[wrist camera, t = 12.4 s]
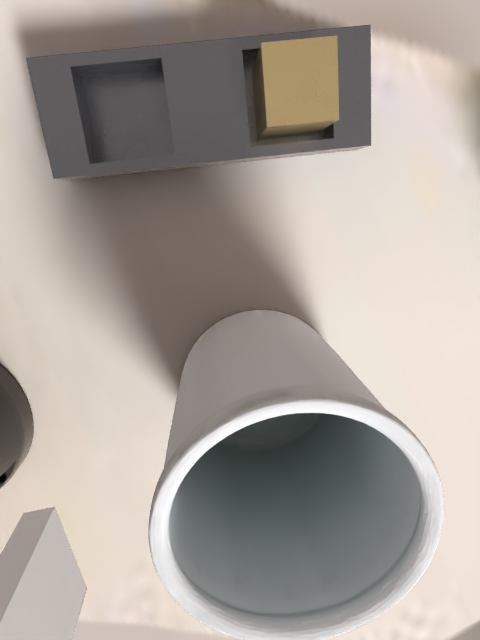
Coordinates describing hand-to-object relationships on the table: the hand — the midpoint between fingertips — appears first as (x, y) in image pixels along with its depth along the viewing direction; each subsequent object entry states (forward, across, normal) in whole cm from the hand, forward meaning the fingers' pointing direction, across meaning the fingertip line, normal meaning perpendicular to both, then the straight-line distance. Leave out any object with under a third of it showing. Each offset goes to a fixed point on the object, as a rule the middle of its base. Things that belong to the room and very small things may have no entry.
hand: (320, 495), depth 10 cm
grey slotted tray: (+25, 0, +13) cm, 28 cm away
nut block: (+24, +6, +13) cm, 28 cm away
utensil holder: (+25, 0, -9) cm, 26 cm away
